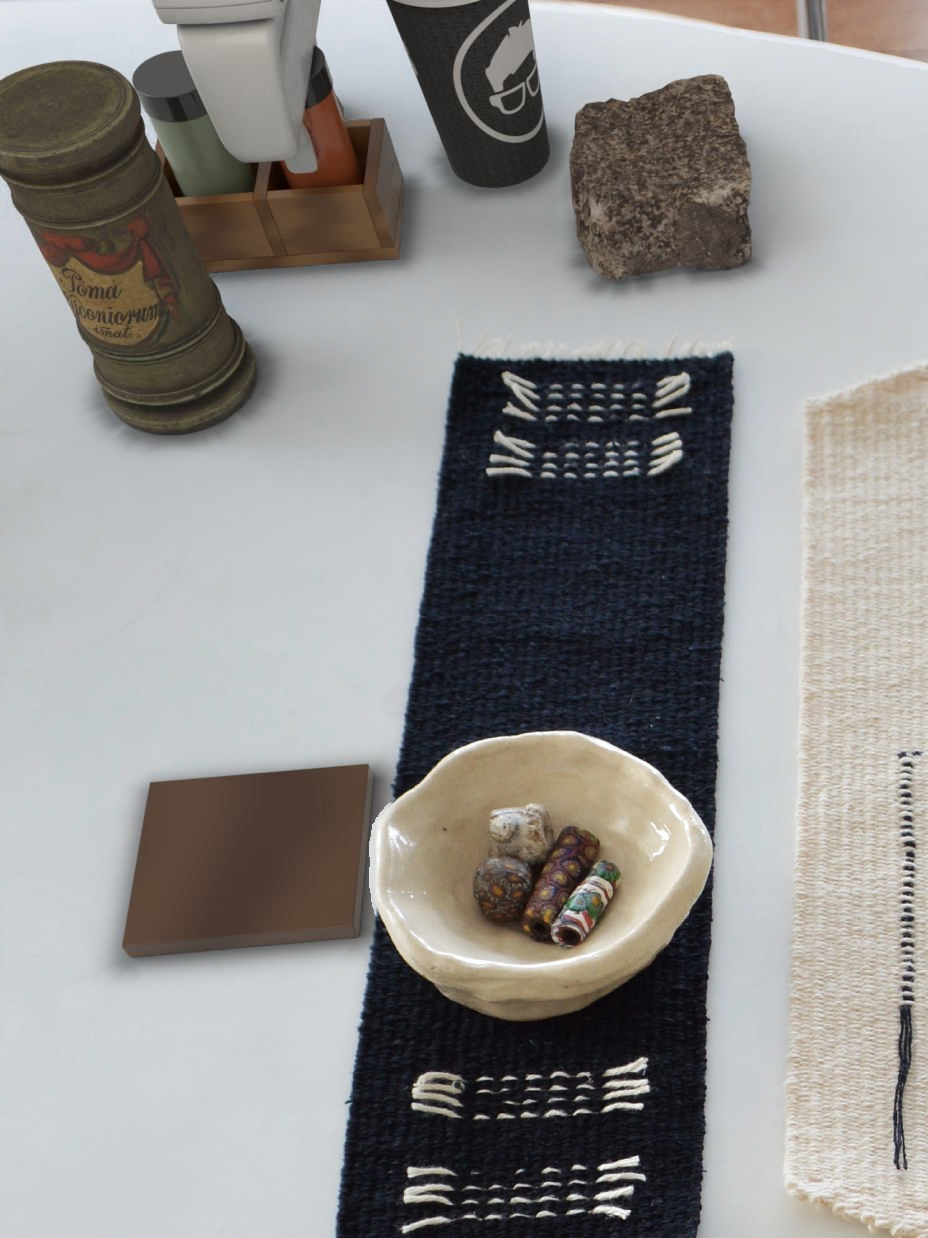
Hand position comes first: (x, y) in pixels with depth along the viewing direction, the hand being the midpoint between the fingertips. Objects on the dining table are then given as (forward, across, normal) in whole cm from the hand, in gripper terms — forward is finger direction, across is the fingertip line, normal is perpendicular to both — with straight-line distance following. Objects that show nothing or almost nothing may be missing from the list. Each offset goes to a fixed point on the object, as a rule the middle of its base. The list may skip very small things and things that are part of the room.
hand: (309, 136), depth 113 cm
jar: (+6, 0, -6) cm, 9 cm away
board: (+6, +50, 0) cm, 50 cm away
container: (+6, +14, -8) cm, 17 cm away
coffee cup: (+6, -6, +10) cm, 13 cm away
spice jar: (+5, 0, 0) cm, 5 cm away
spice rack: (+6, 0, -3) cm, 7 cm away
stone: (+6, +1, +21) cm, 22 cm away
